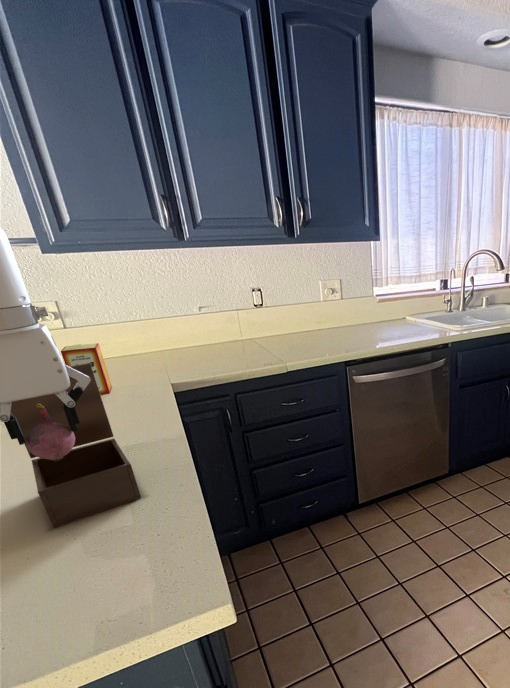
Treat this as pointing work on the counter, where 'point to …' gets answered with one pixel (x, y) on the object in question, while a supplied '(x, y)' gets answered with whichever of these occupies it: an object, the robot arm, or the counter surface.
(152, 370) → the counter surface
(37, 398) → the lid
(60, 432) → the vegetable
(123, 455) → the chest
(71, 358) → the baking soda box
